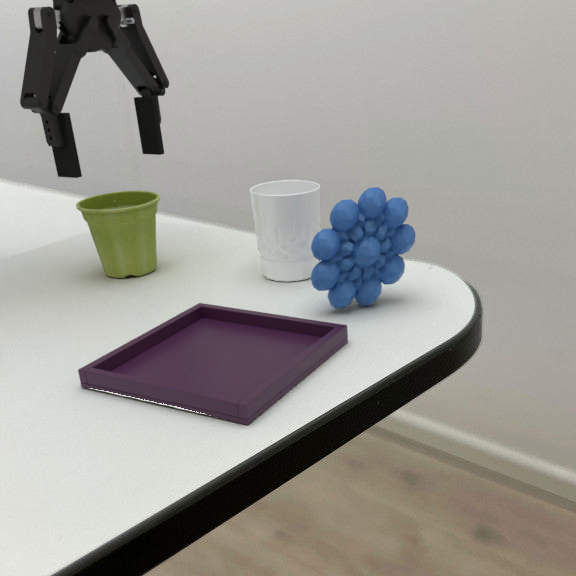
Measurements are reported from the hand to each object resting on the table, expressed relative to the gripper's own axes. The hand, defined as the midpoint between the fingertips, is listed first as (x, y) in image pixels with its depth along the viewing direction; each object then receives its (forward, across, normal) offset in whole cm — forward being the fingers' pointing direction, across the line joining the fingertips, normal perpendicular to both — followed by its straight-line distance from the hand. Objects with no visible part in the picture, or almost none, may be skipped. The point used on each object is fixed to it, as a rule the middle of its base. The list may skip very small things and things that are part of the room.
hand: (114, 164), depth 87 cm
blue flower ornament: (+13, 0, -31) cm, 33 cm away
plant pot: (+13, 0, 0) cm, 13 cm away
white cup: (+13, +6, -19) cm, 24 cm away
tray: (+13, -18, -26) cm, 34 cm away
